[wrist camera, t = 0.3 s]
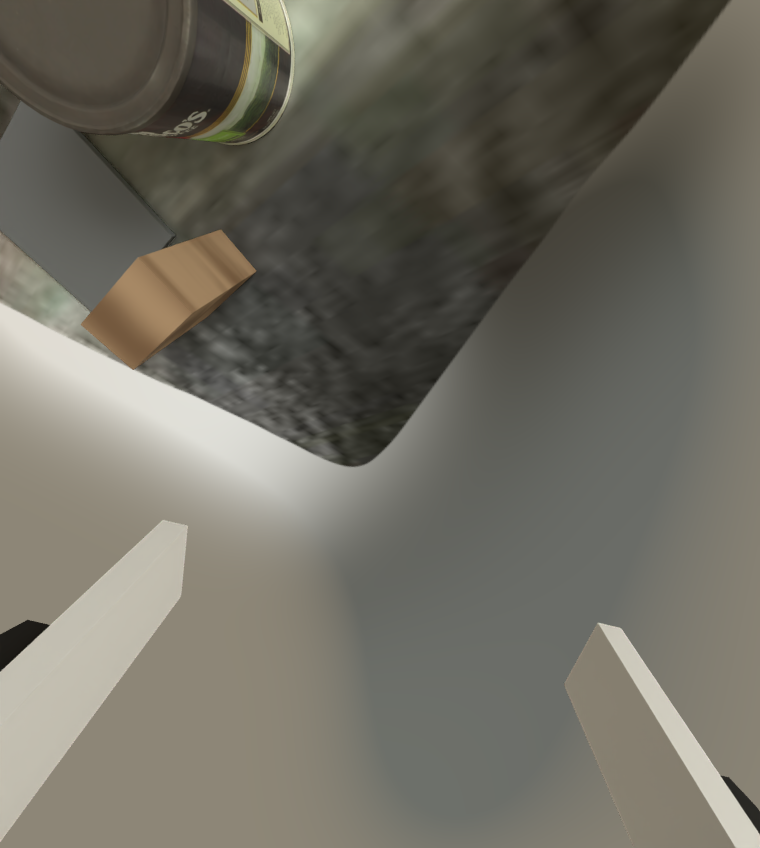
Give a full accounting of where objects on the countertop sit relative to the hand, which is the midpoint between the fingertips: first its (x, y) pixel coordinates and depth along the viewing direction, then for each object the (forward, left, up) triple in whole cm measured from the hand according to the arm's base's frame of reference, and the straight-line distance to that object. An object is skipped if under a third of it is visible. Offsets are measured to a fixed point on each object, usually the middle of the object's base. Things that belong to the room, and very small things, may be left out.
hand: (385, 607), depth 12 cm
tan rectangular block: (+12, -13, -27) cm, 32 cm away
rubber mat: (+18, -23, -27) cm, 40 cm away
